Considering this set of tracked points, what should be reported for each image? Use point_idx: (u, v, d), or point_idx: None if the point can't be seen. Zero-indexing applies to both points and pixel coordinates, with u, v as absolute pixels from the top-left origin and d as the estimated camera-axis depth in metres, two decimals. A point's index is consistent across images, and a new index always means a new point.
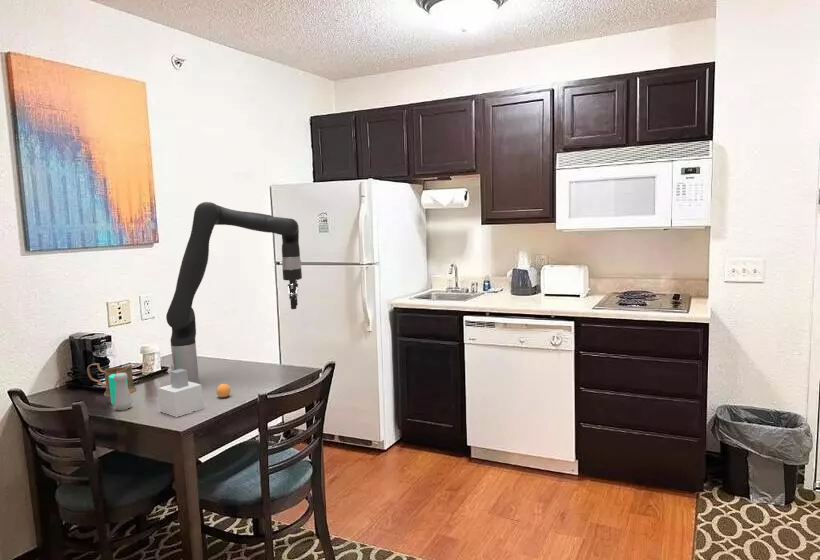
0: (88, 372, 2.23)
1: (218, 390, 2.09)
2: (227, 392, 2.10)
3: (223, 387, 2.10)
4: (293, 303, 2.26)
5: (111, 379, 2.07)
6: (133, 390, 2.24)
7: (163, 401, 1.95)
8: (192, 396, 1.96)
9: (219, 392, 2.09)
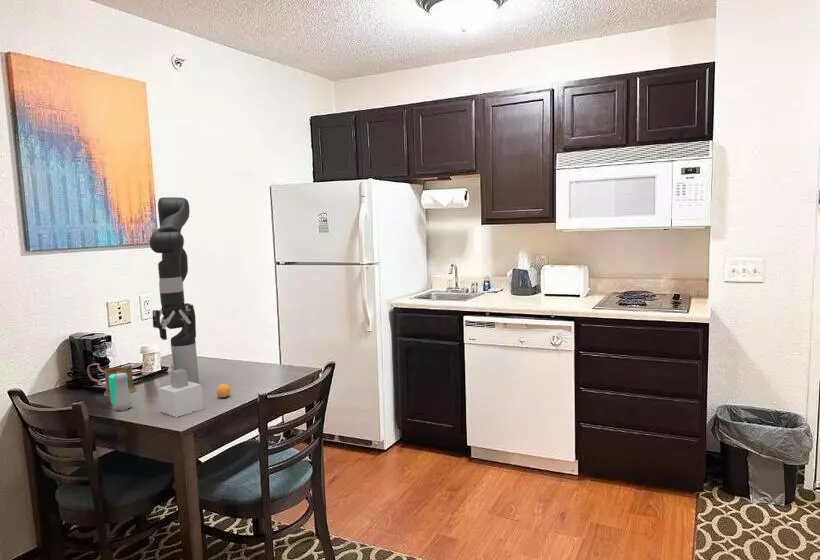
0: (88, 372, 2.23)
1: (218, 390, 2.09)
2: (227, 392, 2.10)
3: (223, 387, 2.10)
4: None
5: (111, 379, 2.07)
6: (133, 390, 2.24)
7: (163, 401, 1.95)
8: (192, 396, 1.96)
9: (219, 392, 2.09)
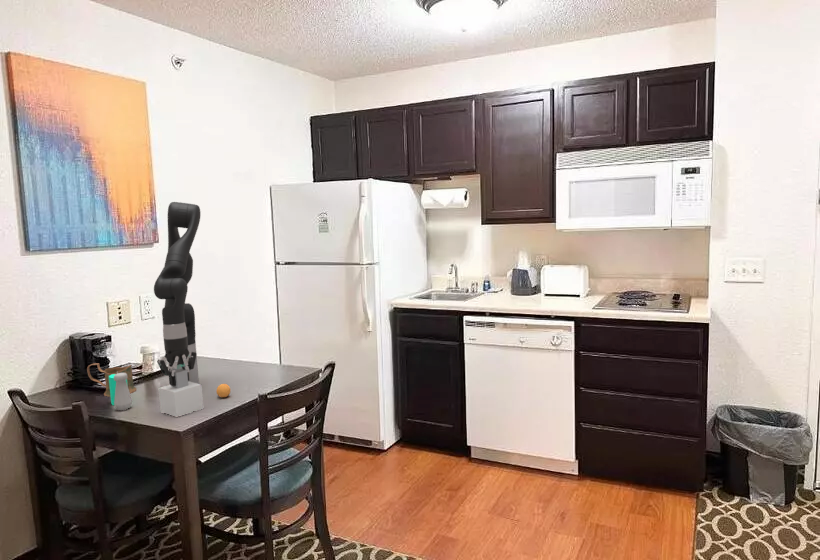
0: (88, 372, 2.23)
1: (218, 390, 2.09)
2: (227, 392, 2.10)
3: (223, 387, 2.10)
4: None
5: (111, 379, 2.07)
6: (133, 390, 2.24)
7: (163, 401, 1.95)
8: (192, 396, 1.96)
9: (219, 392, 2.09)
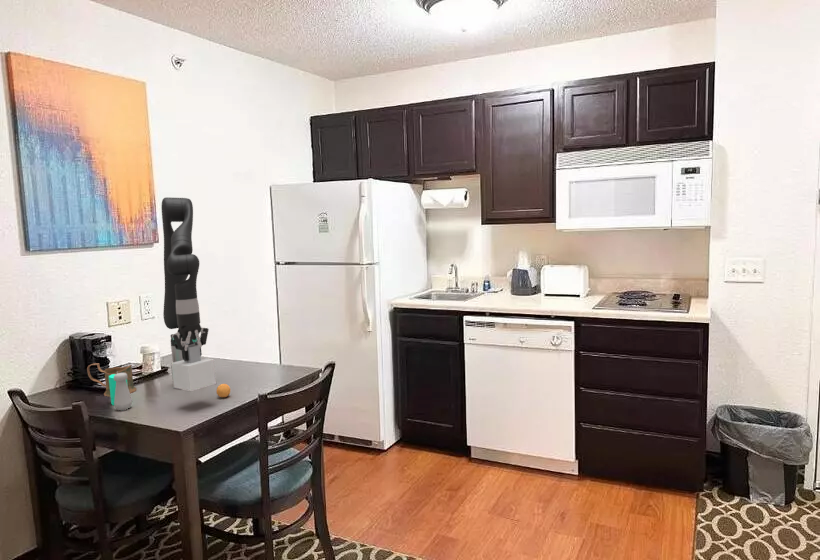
0: (88, 372, 2.23)
1: (218, 390, 2.09)
2: (227, 392, 2.10)
3: (223, 387, 2.10)
4: None
5: (111, 379, 2.07)
6: (133, 390, 2.24)
7: (176, 376, 1.99)
8: (205, 370, 1.99)
9: (219, 392, 2.09)
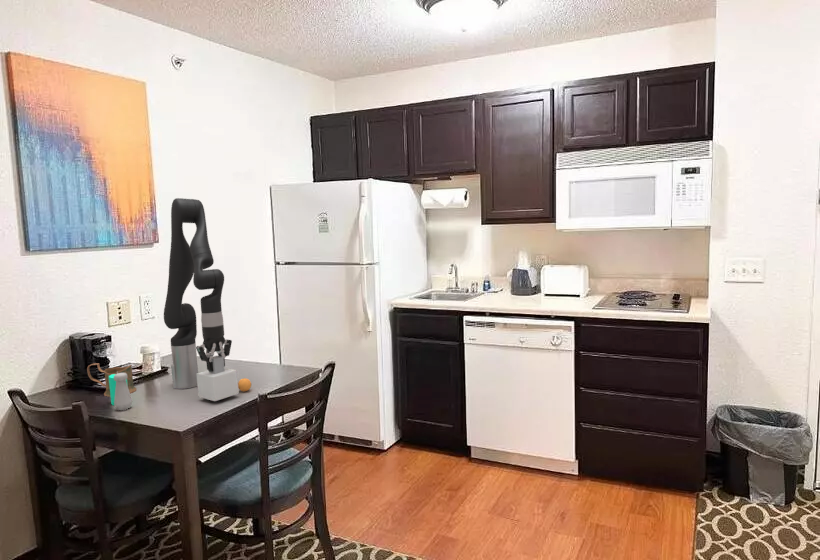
0: (88, 372, 2.23)
1: None
2: (247, 385, 2.16)
3: (247, 389, 2.17)
4: None
5: (111, 379, 2.07)
6: (133, 390, 2.24)
7: (201, 386, 2.07)
8: (228, 381, 2.07)
9: (250, 385, 2.19)
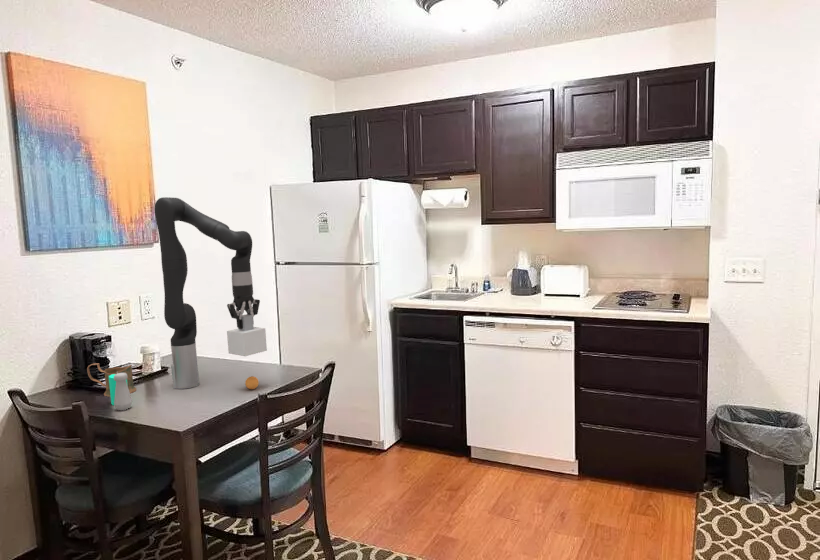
0: (88, 372, 2.23)
1: None
2: (256, 382, 2.19)
3: (250, 386, 2.18)
4: None
5: (111, 379, 2.07)
6: (133, 390, 2.24)
7: (231, 342, 2.17)
8: (257, 338, 2.17)
9: (253, 388, 2.20)
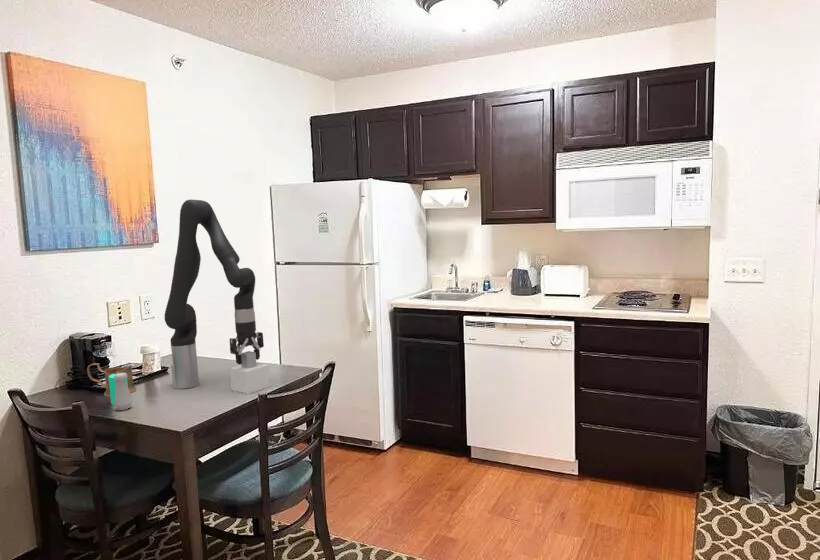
0: (88, 372, 2.23)
1: None
2: None
3: None
4: None
5: (111, 379, 2.07)
6: (133, 390, 2.24)
7: (234, 380, 2.18)
8: (260, 375, 2.18)
9: None
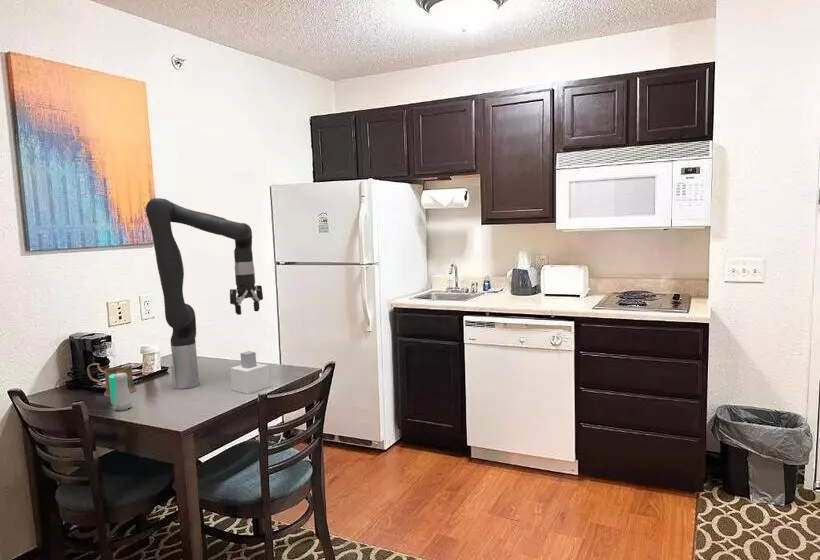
0: (88, 372, 2.23)
1: None
2: None
3: None
4: None
5: (111, 379, 2.07)
6: (133, 390, 2.24)
7: (234, 380, 2.18)
8: (260, 375, 2.18)
9: None
